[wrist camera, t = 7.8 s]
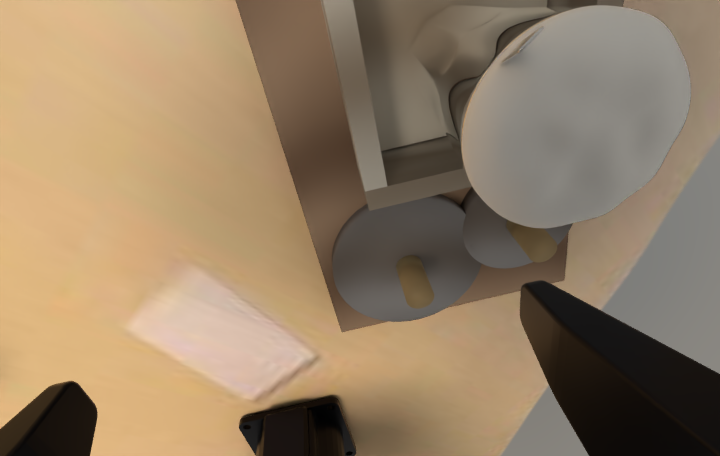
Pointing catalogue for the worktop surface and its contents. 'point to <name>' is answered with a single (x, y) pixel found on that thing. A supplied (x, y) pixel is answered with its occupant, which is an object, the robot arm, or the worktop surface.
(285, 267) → the worktop surface
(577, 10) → the milkshake
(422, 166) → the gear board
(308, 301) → the worktop surface
